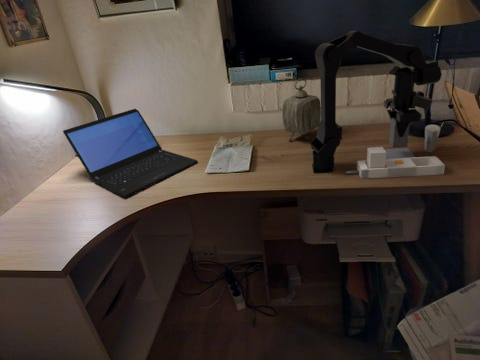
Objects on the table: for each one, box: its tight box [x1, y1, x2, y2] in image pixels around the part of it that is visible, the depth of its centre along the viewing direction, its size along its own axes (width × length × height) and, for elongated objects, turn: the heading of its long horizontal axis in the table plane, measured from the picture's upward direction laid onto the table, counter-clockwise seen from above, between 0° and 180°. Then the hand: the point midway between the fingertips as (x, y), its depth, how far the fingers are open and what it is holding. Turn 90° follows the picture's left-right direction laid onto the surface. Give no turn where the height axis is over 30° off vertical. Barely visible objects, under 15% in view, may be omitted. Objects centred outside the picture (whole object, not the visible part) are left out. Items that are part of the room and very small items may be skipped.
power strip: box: [345, 155, 446, 179], centre depth 105 cm, size 28×7×4 cm, turn 83°
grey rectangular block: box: [388, 118, 411, 149], centre depth 111 cm, size 4×4×9 cm
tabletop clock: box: [281, 77, 321, 142], centre depth 135 cm, size 14×9×25 cm, turn 133°
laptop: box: [62, 108, 198, 198], centre depth 129 cm, size 33×38×19 cm
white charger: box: [366, 146, 386, 169], centre depth 105 cm, size 4×4×8 cm
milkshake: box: [423, 121, 445, 153], centre depth 114 cm, size 4×5×10 cm
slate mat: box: [384, 147, 416, 159], centre depth 115 cm, size 10×10×1 cm
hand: (398, 134), depth 112 cm, fingers closed on grey rectangular block, 4 cm apart
